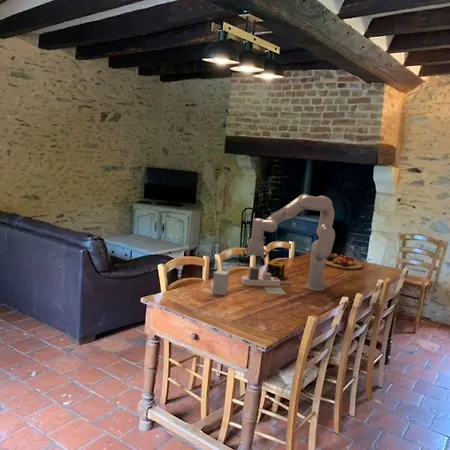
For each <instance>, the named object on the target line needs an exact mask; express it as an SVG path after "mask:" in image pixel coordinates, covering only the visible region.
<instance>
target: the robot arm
mask: <svg viewBox="0 0 450 450" xmlns="http://www.w3.org/2000/svg"><path fill="white" fill-rule="evenodd" d="M304 210H309V211H318V212H319V213H320V214H319V215H320V216H319V221H318V224H317V228H316V236H318V239H316V240H314V241H313V242H312V244H311V246H310V260H309V261H310V263H309V268H308V269H309V270H308V276H307V278H308V279H307V283H305V285H304V287H305V288H306V289H307V290H309V291H315V292H322V291H325V287H331V284H330V283H327V282H324V279H325V278H324V276H325V268H326V265H325V262H326V258H327V257H328V256H329V255H330V254H332V250H333V246H334V242H335V239H336V232H335V229H334V228H333V225H334V219H335V210H334V206H333V201H332V200H331V199H330V198H329V197H327V196H326V195H319V196H313V195H309V194H306V193H303V194H300V195H298V197H296V198H295V199H293V200H292V201H291V202H290V203H287V204H286V205H285V206H284V207H282V208H280V209H279V210H277V211H275V212H274V213H272V214H271V215H269V216H268V217H267V218H265V219H264V218H259V217H255V218H253V220H252V227H251V237H250V238H249V240H248V244H247V247H245V248H244V249H241V252H242V255H243V257H245V258H244V262H245V264H248V262H249V256H254V257H259V256H260V261H259V265H261V266H262V265H263V264H264V260H265V259H266V257H267V256H268V255H269V254H270V252H269V251H268V250H266V249H264V248H265V247H264V246H265V242H264V240H265V239H266V236H264V232H267V233H274V232H276V231H277V229H278V225H279V224H280V223H281V222H284V221H286V220H290V219H293V218H294V217H295V216H297V215H299V214H300V213H301V212H302V211H304ZM245 252H246V253H245Z"/></svg>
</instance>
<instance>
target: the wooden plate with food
mask: <svg viewBox="0 0 450 450" xmlns="http://www.w3.org/2000/svg"><path fill="white" fill-rule="evenodd" d="M362 265H363V264H361V263H359V262H357V261H355V257H354V256H351V255H349V256H347V255H344V254H339V255H338V253H330V255H329V256H328V257H327V258H326V262H325V266H328V267H331V268H335V269H341V270H347V271H348V270H349V271H356V270H357V271H358V270H362V268H363V266H362Z"/></svg>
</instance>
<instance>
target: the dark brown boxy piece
mask: <svg viewBox="0 0 450 450" xmlns="http://www.w3.org/2000/svg"><path fill="white" fill-rule="evenodd" d="M285 267H286V262H281V261H275V260H270V261H269V262H268V263H267V270H266V273H270V274H271V277H277V278H278V279H279V280H280V281H281V280H282V279H283V278H284V277H285V276H284V275H285Z"/></svg>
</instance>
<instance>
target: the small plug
mask: <svg viewBox="0 0 450 450" xmlns="http://www.w3.org/2000/svg"><path fill="white" fill-rule="evenodd" d="M262 277H263V279H264V280H271V274H270V273H267V272H263V275H262Z"/></svg>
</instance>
